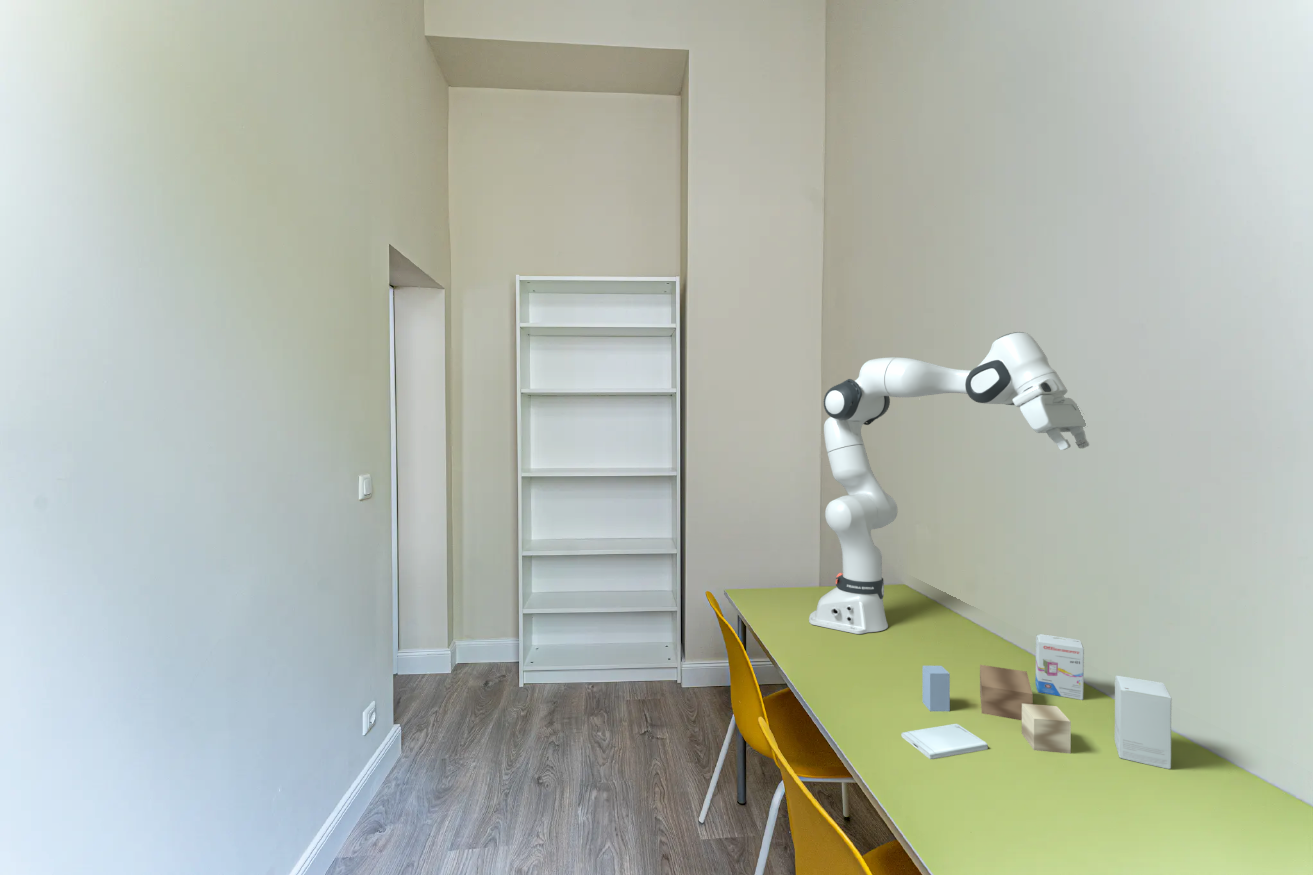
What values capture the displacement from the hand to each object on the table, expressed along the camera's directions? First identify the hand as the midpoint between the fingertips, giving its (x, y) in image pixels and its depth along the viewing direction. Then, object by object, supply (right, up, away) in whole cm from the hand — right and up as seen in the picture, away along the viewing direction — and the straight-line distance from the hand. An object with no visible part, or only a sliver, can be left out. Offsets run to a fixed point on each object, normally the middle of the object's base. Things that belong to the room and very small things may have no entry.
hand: (1075, 448), depth 133 cm
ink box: (-2, -55, +2) cm, 55 cm away
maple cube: (-19, -55, -19) cm, 61 cm away
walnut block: (-18, -55, -4) cm, 58 cm away
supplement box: (-4, -55, -23) cm, 60 cm away
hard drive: (-37, -56, -18) cm, 70 cm away
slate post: (-32, -55, -4) cm, 64 cm away
